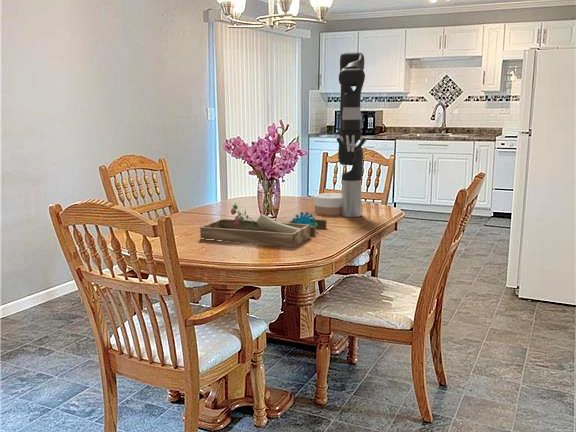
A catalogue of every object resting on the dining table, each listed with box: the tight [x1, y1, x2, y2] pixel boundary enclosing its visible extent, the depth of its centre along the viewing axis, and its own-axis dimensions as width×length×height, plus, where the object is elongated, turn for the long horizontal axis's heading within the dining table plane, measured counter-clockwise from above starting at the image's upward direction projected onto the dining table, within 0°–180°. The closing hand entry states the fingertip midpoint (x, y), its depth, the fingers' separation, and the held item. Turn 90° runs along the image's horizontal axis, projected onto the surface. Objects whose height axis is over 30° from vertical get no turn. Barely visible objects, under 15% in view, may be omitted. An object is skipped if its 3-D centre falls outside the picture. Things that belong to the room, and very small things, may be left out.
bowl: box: [314, 192, 342, 216], centre depth 285 cm, size 17×17×8 cm
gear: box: [291, 211, 318, 231], centre depth 244 cm, size 11×6×10 cm
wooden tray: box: [199, 218, 311, 248], centre depth 230 cm, size 18×40×5 cm, turn 68°
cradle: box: [285, 217, 327, 236], centre depth 243 cm, size 16×14×4 cm
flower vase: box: [230, 202, 300, 233], centre depth 233 cm, size 12×12×35 cm
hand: (351, 160), depth 241 cm, fingers closed
